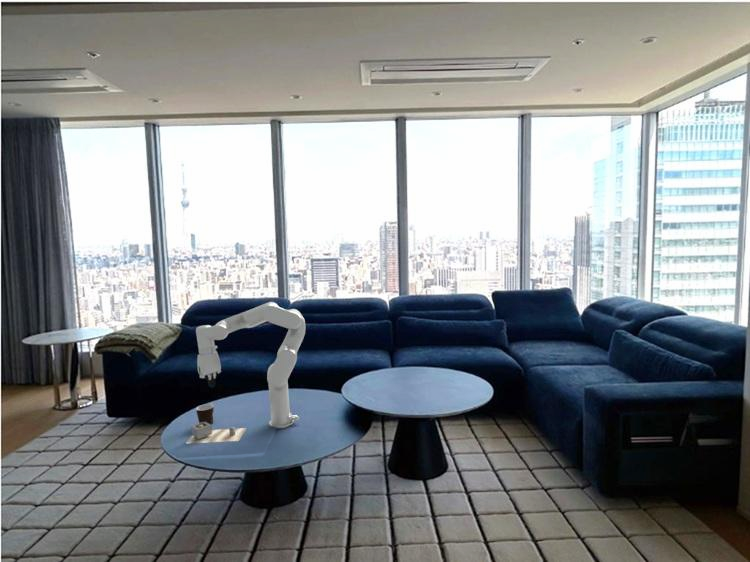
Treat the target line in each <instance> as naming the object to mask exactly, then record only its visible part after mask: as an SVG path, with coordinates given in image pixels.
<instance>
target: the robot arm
mask: <svg viewBox="0 0 750 562" xmlns="http://www.w3.org/2000/svg"><path fill="white" fill-rule="evenodd" d="M266 322H268V323H271V324H274V325H276V326H280V327H282V328H286V329H288V331H287V332H286V335H285V337H284V339H283V342H282V343H281V345H280V347H279V348H278V351H277V355H276V358H275V360H274V362H273V363H272V364H270V365H269V367H268V369H267V375H266V376H267V377H266V379H267V383H268V393H269V405H270V407H269V408H270V417H271V419H270V420H269V421H268V425H269V426H271V427H275V429H284V428H288V427H290V426H292V425H293V424H294V422H295V421H299V420H300V417H299V416H298V415H297V414H292V412H291V410H290V408H291V407H290V397H289V396H290V395H289V383H288V380H289V378H290V376H291V373H292V372H293V369H294V368H295V365H296V363H297V360H298V351H299V348H300V346H301V344H302V343H303V341H304V337H305V335H306V321H305V318H304V317H303V314H302V313H301V311H299V310H297V309H296V308H291V309H286V308H285V309H284V308H283V307H280V306H279V305H278V304H277V303H276V302H274V301H269V302H266V303H263V304H261V305H258V306H255V307H254V308H250V309H249V310H245V311H243V312H240V313H238V314H234V315H232V316H229V317H227V318H225V319H222V320H220V321H218V322H217V323H216V324H214V325H210V324H206V325H205V324H204V325H199V326H197V327H196V328H195V334H196V341H197V347H198V353H199V354H197V358H196V359H197V360H196V361H197V364H196V365H197V372H198V374H199V378H200V379H206V380H207V385H208V387H210V388H212V389H213V388H215V387H216V384H217V383H216V378H217V376H218V374H221V372H222V370H221V369H222V365H221V361H220V356H219V354H218V351H217V349H218V345H216V344H215V341H221V340H224V339H226V338H227V337H228V335H229V334H230V333H233V332H236V331H238V330H240V329H241V330H242V329H250V328H254V327H256V326H258V325H261V324H263V323H266Z"/></svg>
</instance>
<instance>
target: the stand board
mask: <svg viewBox="0 0 750 562" xmlns="http://www.w3.org/2000/svg"><path fill="white" fill-rule="evenodd" d="M201 427H203V425H198V428H201ZM246 431H247V427H242V428H235V426H231V427H229V428H223V429H221V428H220V429H212V434H210V435H208V436H205V437H202V438H200V439H197V438H196V437H194V436H193V435H191V437H190V438H189V439H188V440H187V441H186V443H185V445H187V444H188V445H189V444H190V445H191V444H203V443H204V444H206V443H222V442H224V443H225V442H239V441H240V440H241V438H242V436H243V435H244V433H245V432H246Z"/></svg>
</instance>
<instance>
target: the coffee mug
mask: <svg viewBox="0 0 750 562" xmlns="http://www.w3.org/2000/svg"><path fill="white" fill-rule="evenodd" d="M214 408H215V407H214V404H212V403H205V404H202V405H198V406H197V407H195V411H196V415H197V420H198V423H201V422H204V421H205V422H207V423H209V424H210V425H211V426H212V424H214V410H215V409H214Z"/></svg>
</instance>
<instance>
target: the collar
mask: <svg viewBox="0 0 750 562" xmlns="http://www.w3.org/2000/svg"><path fill="white" fill-rule="evenodd" d="M198 425H203V427H201V428H198ZM190 430H191V436H194V437H196V438H197V439H200V438H202V437H205V436H208V435H210V434H212V430H213V428H212V424H211V425H210V424H209V423H207V422H205V421H204V422H201V423H199V422H198V423H196V424H192V425H191V426H190Z"/></svg>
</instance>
